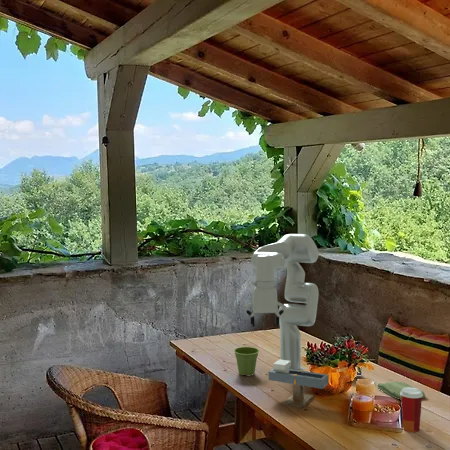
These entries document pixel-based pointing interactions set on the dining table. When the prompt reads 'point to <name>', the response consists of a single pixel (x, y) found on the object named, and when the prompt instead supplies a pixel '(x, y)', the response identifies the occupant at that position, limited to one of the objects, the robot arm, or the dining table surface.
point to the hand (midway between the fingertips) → (264, 326)
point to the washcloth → (395, 388)
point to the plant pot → (246, 359)
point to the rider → (282, 366)
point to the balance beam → (299, 384)
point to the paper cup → (411, 408)
